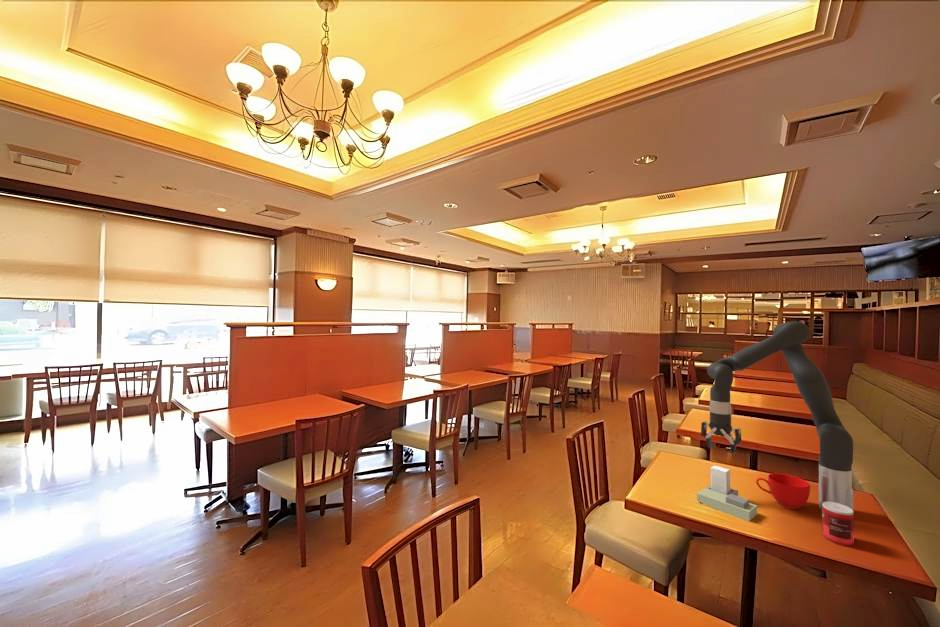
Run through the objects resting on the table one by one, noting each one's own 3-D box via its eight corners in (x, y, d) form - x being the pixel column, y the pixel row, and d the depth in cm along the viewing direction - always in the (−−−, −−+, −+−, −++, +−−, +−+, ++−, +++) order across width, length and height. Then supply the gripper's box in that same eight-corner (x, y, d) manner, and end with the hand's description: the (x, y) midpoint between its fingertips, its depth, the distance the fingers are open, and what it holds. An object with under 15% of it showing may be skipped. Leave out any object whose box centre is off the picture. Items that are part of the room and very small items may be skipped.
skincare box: (730, 498, 158) (730, 469, 158) (726, 501, 156) (726, 472, 156) (714, 492, 163) (714, 465, 163) (710, 495, 161) (710, 467, 161)
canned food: (836, 532, 134) (836, 501, 134) (861, 546, 126) (861, 513, 126) (815, 532, 133) (815, 501, 133) (838, 546, 125) (838, 513, 125)
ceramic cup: (754, 492, 164) (754, 468, 164) (805, 502, 155) (805, 477, 155) (758, 505, 153) (758, 480, 153) (814, 516, 144) (814, 490, 144)
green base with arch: (765, 507, 151) (765, 493, 151) (749, 521, 141) (749, 506, 141) (714, 489, 166) (714, 477, 166) (695, 501, 156) (695, 488, 156)
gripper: (743, 413, 156) (744, 453, 156) (705, 406, 167) (706, 443, 167) (736, 416, 151) (736, 457, 151) (697, 409, 163) (698, 447, 163)
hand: (720, 450), depth 159 cm, fingers open, 8 cm apart
